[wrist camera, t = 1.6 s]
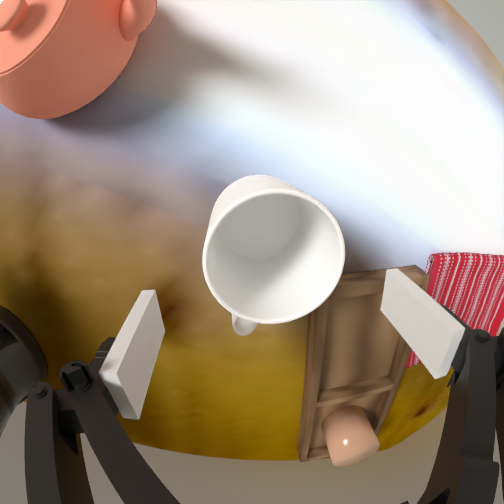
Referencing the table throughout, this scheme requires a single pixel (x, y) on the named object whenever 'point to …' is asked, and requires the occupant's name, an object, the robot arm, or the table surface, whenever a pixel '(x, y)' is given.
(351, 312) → the caddy
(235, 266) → the mug
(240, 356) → the table surface
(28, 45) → the teapot
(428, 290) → the dish towel
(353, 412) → the peach rounded cylinder
